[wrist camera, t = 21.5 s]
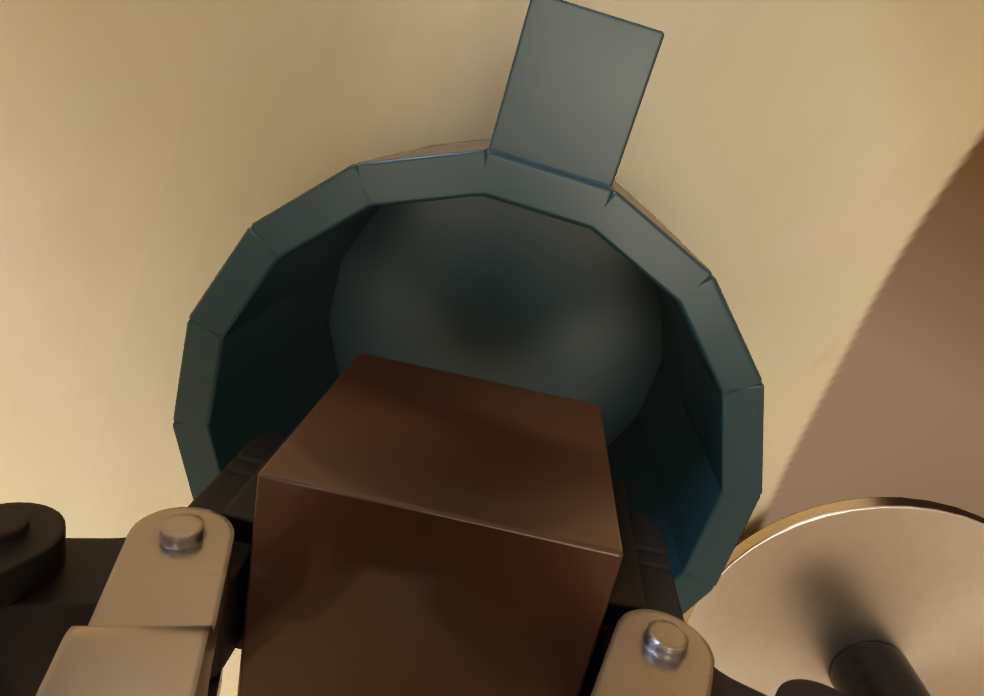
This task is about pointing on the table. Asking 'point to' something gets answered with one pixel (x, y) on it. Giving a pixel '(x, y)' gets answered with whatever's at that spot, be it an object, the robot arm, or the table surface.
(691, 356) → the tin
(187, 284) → the table surface
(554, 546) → the block
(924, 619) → the lid
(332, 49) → the table surface
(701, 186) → the table surface
